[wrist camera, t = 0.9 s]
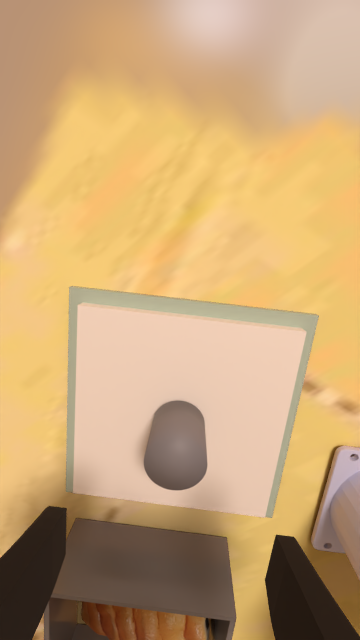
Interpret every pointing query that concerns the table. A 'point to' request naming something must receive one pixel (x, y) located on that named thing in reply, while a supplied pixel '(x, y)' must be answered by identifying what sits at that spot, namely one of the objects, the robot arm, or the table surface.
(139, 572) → the dish
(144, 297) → the mat
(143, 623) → the pastry
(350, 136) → the table surface
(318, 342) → the table surface
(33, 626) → the robot arm
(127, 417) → the lid
